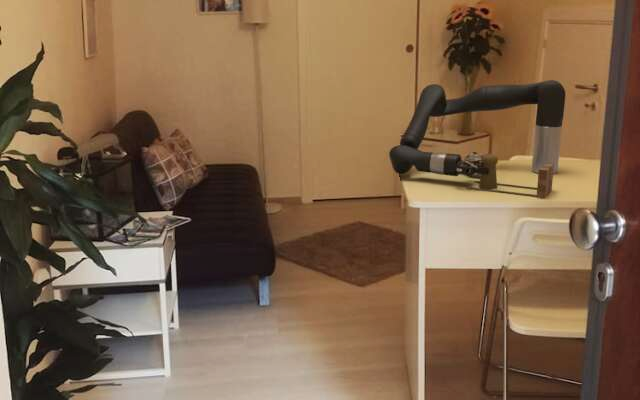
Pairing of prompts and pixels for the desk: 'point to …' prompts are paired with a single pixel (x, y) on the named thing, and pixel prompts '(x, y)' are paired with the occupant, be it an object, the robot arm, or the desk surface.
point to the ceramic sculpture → (474, 156)
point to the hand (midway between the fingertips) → (492, 168)
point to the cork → (490, 179)
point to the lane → (542, 188)
